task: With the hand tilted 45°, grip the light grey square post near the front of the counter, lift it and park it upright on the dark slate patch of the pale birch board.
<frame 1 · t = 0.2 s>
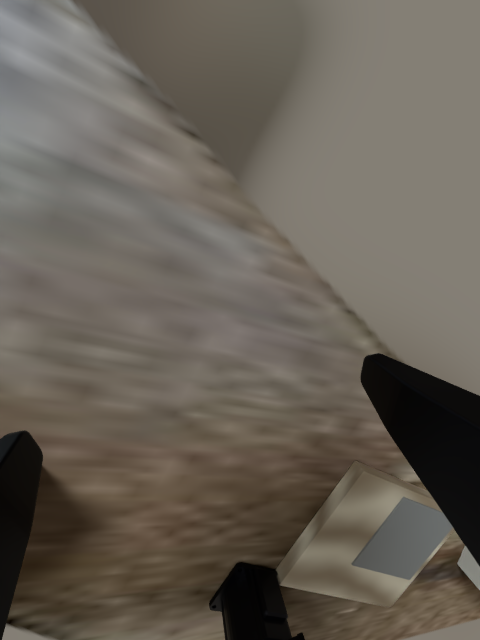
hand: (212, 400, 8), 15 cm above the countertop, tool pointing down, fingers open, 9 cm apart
grey post: (477, 548, 41), on the countertop
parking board: (370, 535, 35), on the countertop
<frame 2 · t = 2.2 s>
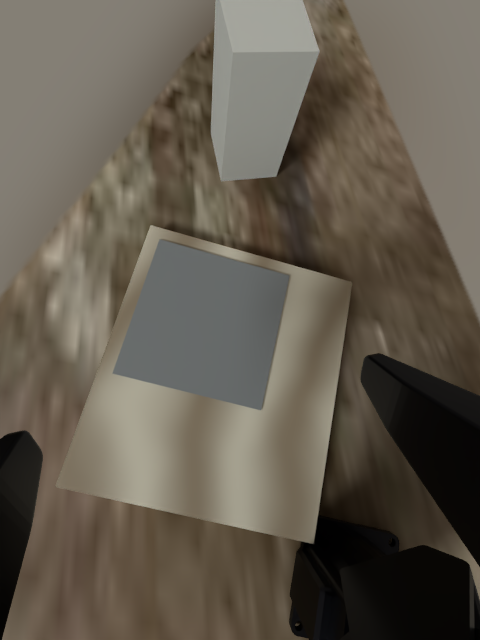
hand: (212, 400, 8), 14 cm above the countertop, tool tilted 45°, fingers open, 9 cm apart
grey post: (243, 154, 26), on the countertop
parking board: (223, 371, 22), on the countertop
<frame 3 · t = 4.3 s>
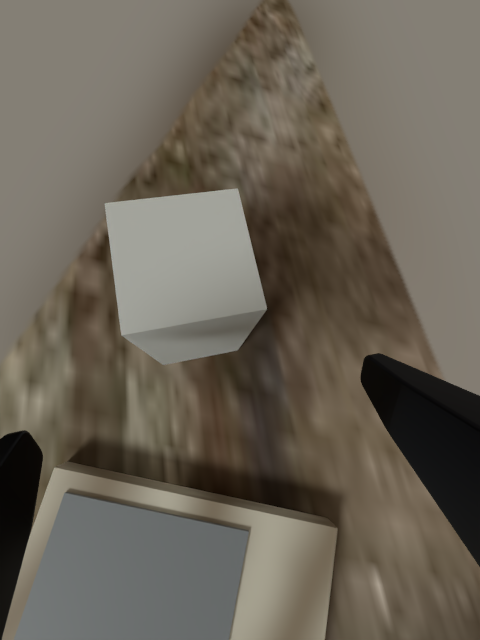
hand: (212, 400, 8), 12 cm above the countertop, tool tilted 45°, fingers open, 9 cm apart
grey post: (194, 321, 20), on the countertop
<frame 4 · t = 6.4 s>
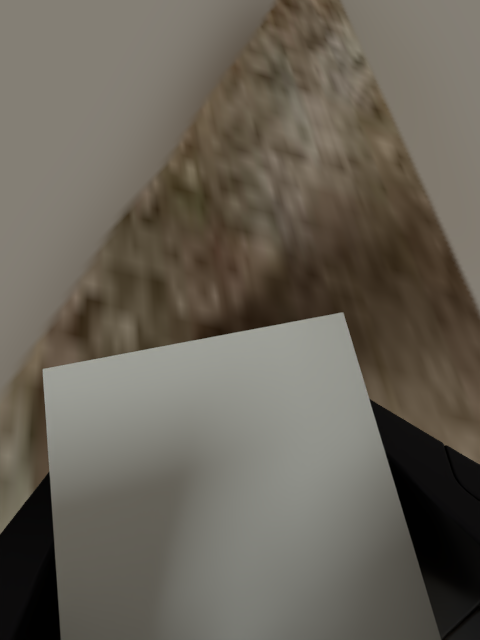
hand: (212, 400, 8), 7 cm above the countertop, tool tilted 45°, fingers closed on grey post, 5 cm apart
grey post: (215, 427, 14), on the countertop, touching gripper
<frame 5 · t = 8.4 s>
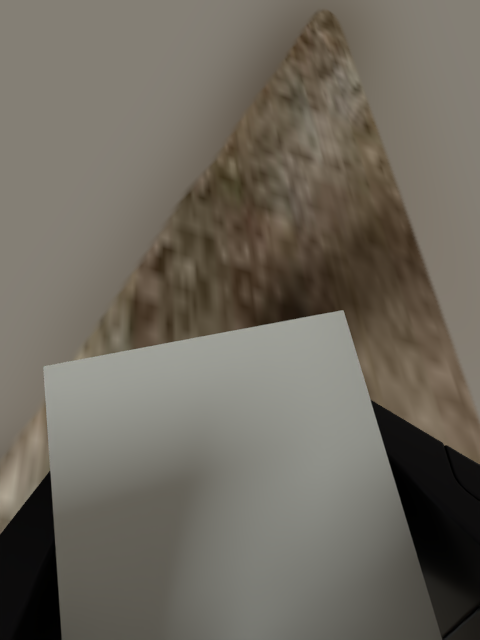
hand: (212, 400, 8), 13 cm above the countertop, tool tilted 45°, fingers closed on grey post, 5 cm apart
grey post: (215, 426, 14), point 6 cm above the countertop, touching gripper
when the fingers open (9 cm above the countertop, at t = 10.5 s): grey post drops 1 cm, resting on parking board.
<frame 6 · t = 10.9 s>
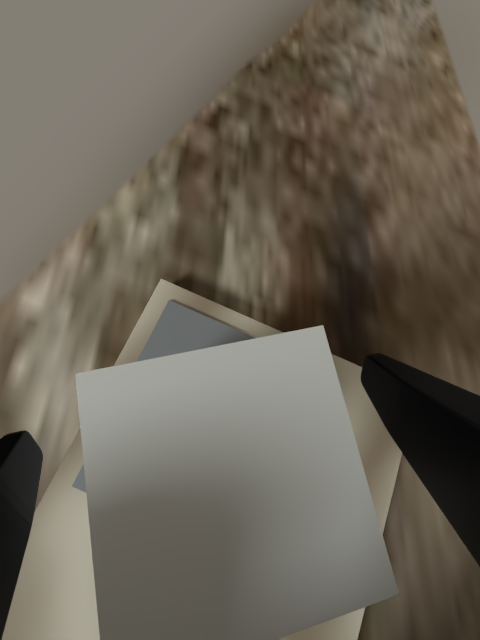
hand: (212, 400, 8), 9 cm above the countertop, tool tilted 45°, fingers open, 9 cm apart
grey post: (215, 424, 15), point 2 cm above the countertop, touching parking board
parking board: (224, 490, 16), on the countertop
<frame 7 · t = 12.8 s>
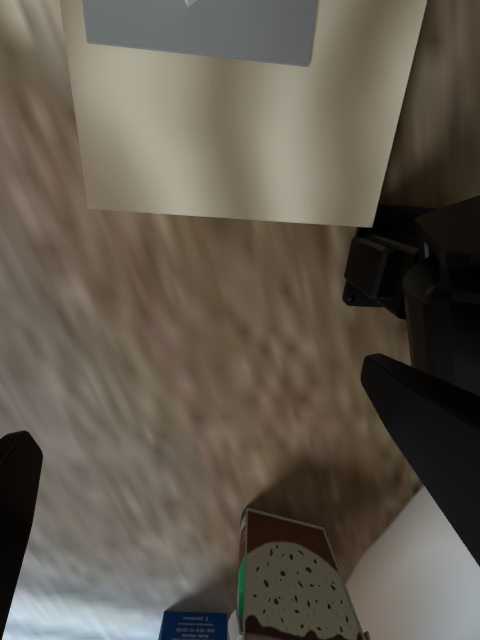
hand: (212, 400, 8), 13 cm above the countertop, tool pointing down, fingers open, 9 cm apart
food container: (271, 532, 32), on the countertop
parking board: (245, 19, 14), on the countertop
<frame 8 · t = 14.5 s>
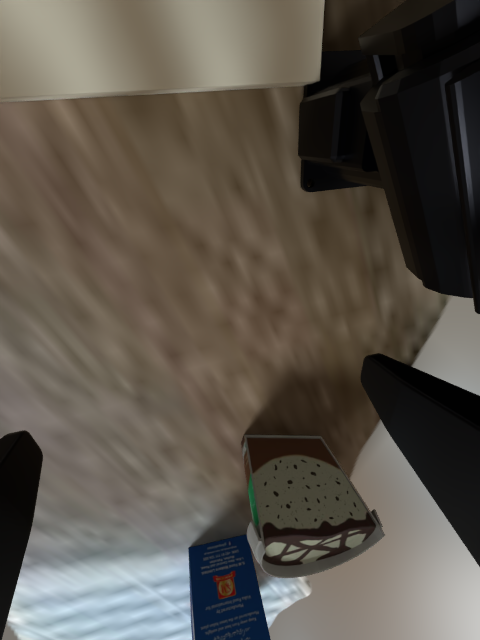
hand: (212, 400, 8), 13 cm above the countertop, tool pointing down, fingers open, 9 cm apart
food container: (273, 452, 33), on the countertop
pasta box: (215, 581, 47), on the countertop
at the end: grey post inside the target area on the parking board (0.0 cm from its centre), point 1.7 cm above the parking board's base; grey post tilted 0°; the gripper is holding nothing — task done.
